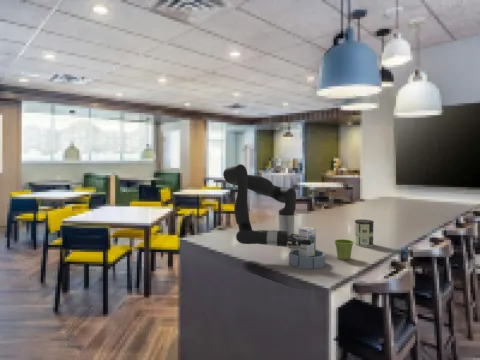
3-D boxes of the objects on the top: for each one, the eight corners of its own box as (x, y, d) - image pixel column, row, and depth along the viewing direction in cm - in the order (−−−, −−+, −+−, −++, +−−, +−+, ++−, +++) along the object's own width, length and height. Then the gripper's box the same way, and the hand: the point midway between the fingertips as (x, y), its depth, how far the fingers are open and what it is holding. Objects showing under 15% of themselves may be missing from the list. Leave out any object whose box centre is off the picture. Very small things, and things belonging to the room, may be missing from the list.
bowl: (292, 257, 170) (292, 247, 170) (325, 259, 166) (325, 249, 166) (287, 267, 155) (287, 256, 154) (324, 270, 150) (324, 259, 150)
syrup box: (307, 260, 156) (308, 229, 155) (298, 257, 161) (298, 227, 160) (315, 258, 159) (316, 228, 158) (306, 255, 164) (307, 226, 163)
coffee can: (367, 242, 202) (367, 219, 201) (376, 246, 191) (377, 222, 191) (351, 243, 200) (351, 219, 199) (360, 247, 190) (360, 222, 189)
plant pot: (331, 259, 167) (331, 242, 166) (337, 254, 175) (337, 238, 174) (350, 262, 162) (350, 244, 161) (355, 257, 169) (356, 240, 169)
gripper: (274, 233, 156) (310, 236, 152) (279, 227, 170) (312, 229, 166) (274, 249, 157) (310, 252, 152) (279, 242, 171) (312, 244, 166)
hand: (311, 240), depth 159 cm, fingers closed on syrup box, 7 cm apart
